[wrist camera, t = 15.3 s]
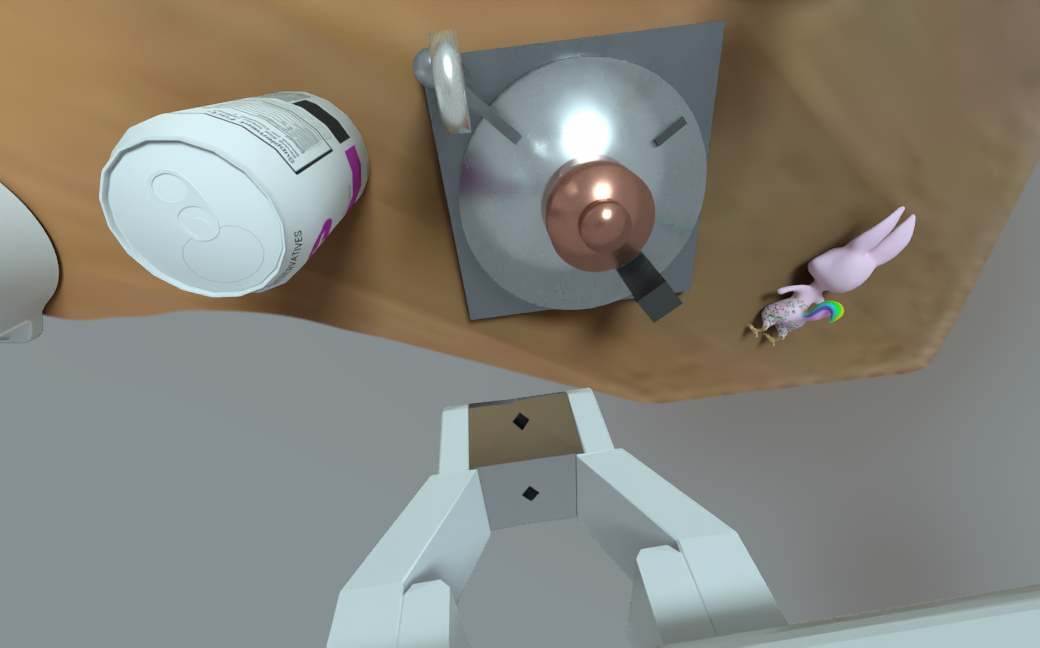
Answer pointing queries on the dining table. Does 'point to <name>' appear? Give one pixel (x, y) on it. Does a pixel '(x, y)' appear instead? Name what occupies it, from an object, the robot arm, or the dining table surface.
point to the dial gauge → (454, 86)
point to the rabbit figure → (837, 276)
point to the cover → (597, 213)
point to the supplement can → (233, 190)
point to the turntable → (566, 135)
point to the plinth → (666, 52)
